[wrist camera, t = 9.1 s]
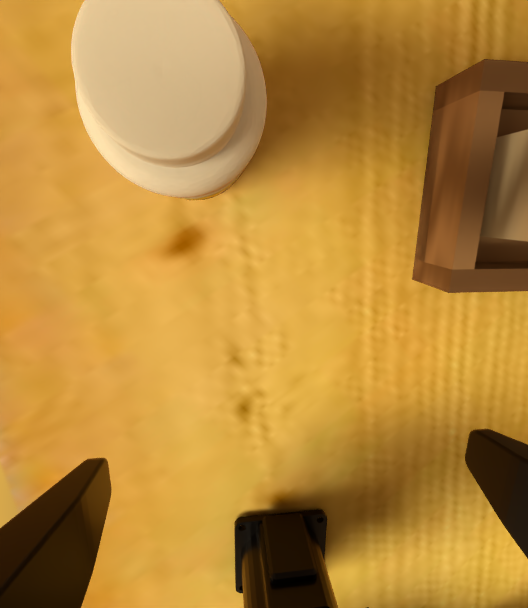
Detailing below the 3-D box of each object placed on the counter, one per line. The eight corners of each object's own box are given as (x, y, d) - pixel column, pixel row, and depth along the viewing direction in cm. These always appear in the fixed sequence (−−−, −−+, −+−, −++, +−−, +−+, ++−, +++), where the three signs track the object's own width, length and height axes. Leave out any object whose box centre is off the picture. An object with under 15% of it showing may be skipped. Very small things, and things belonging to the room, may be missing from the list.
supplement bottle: (128, 83, 17) (-1, -96, 7) (244, 81, 17) (277, -85, 7) (145, 204, 18) (58, 199, 8) (250, 198, 19) (285, 188, 9)
